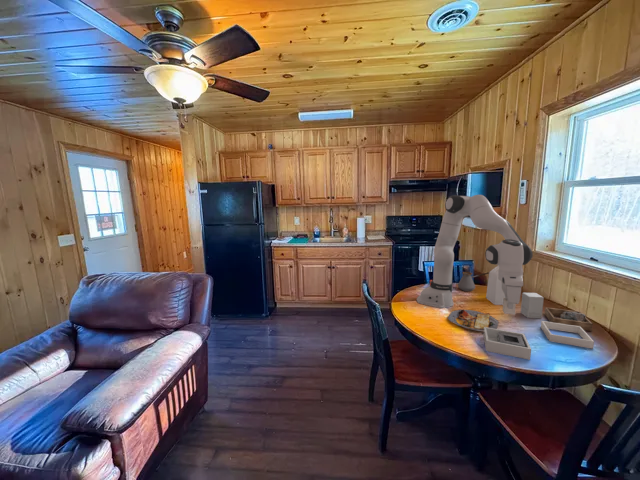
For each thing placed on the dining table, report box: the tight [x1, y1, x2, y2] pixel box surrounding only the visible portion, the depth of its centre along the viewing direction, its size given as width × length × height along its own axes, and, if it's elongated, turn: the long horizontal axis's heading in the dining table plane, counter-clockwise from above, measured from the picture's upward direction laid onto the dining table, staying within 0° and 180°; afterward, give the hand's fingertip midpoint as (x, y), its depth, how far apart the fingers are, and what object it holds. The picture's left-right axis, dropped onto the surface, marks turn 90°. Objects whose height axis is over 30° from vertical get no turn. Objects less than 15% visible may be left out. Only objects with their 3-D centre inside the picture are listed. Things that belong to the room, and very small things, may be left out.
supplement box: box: [520, 292, 545, 319], centre depth 150 cm, size 7×7×13 cm
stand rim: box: [544, 307, 593, 332], centre depth 142 cm, size 15×15×4 cm
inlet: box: [497, 332, 525, 347], centre depth 120 cm, size 9×9×4 cm
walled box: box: [483, 327, 532, 361], centre depth 121 cm, size 16×14×5 cm
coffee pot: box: [457, 271, 490, 292], centre depth 192 cm, size 21×12×15 cm, turn 65°
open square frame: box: [540, 320, 595, 349], centre depth 127 cm, size 15×15×4 cm
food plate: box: [447, 308, 499, 332], centre depth 146 cm, size 25×23×4 cm
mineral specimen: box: [559, 311, 587, 322], centre depth 140 cm, size 10×8×10 cm
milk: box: [485, 265, 505, 306], centre depth 170 cm, size 12×12×26 cm
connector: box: [502, 298, 517, 316], centre depth 118 cm, size 4×4×8 cm
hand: (509, 305), depth 118 cm, fingers closed on connector, 4 cm apart
